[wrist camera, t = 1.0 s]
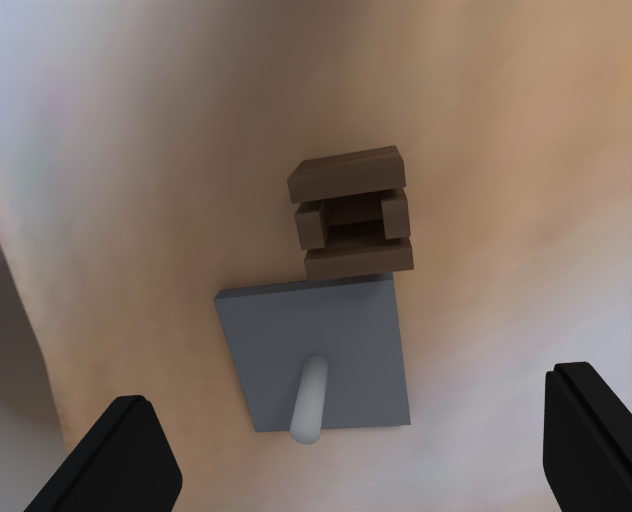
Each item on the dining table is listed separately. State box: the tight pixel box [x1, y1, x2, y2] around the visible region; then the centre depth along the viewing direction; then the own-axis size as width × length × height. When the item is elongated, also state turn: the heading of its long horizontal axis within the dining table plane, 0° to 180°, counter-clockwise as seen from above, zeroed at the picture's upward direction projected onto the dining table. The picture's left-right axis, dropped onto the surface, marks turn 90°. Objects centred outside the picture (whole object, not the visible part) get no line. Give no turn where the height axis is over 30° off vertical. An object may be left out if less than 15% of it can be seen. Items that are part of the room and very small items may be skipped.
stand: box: [214, 272, 411, 444], centre depth 30 cm, size 14×14×8 cm
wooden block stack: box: [287, 146, 414, 281], centre depth 25 cm, size 6×6×6 cm
